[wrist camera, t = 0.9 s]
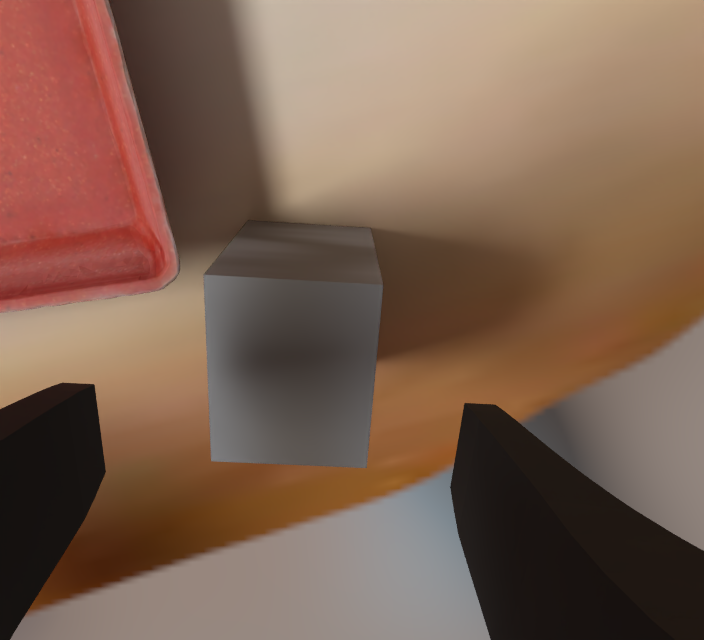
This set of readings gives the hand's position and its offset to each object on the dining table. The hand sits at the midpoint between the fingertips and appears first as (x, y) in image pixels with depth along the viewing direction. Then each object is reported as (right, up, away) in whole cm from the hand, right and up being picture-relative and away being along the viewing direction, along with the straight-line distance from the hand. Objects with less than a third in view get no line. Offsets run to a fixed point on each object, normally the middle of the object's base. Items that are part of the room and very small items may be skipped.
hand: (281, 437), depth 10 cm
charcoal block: (0, +3, +8) cm, 8 cm away
